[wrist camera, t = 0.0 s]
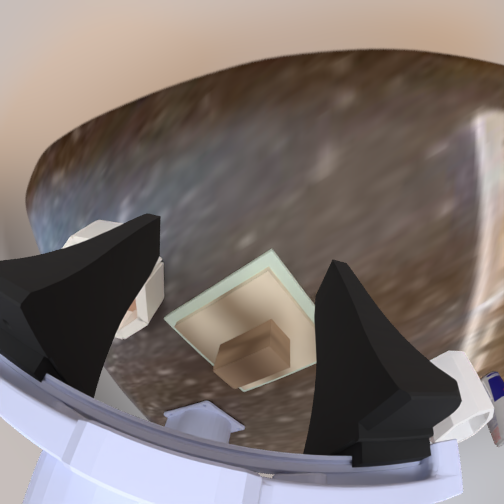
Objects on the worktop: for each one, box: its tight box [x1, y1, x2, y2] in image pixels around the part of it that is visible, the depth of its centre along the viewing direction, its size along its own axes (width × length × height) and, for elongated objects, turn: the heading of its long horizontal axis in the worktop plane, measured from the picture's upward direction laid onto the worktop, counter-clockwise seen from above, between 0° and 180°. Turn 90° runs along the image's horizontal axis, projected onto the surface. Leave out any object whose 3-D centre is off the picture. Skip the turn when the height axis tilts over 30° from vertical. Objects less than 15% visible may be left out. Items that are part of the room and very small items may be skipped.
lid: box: [174, 266, 316, 390], centre depth 24 cm, size 11×11×4 cm
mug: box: [429, 351, 494, 443], centre depth 23 cm, size 12×9×10 cm
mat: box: [164, 249, 316, 392], centre depth 26 cm, size 13×13×1 cm
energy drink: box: [480, 371, 504, 447], centre depth 23 cm, size 5×5×12 cm
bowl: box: [62, 220, 164, 339], centre depth 23 cm, size 10×10×4 cm
